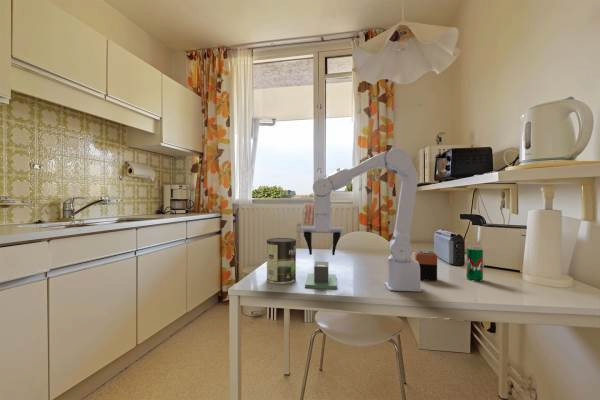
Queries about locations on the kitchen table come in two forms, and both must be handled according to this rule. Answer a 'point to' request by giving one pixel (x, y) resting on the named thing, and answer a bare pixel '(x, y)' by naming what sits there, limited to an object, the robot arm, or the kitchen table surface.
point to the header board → (324, 285)
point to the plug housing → (321, 272)
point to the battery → (427, 265)
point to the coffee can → (281, 260)
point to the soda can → (474, 262)
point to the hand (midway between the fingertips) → (321, 254)
